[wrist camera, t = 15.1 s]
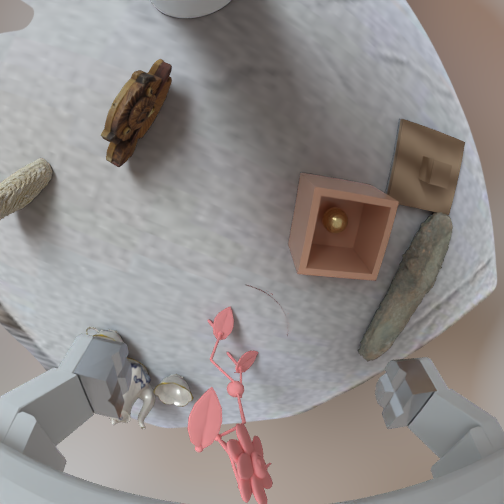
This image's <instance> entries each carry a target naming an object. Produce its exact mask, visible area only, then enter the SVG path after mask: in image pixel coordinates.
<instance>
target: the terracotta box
mask: <svg viewBox="0 0 504 504" xmlns="http://www.w3.org/2000/svg"><path fill="white" fill-rule="evenodd" d="M398 203H399V202H398V201H397V200H395V199H394V198H392V197H390V196H389V195H387V194H385V193H384V192H382V191H381V190H379V189H377V188H376V187H374V186H372V185H369V184H364V183H359V182H354V181H348V180H343V179H337V178H332V177H326V176H320V175H314V174H307V173H301V172H300V178H299V185H298V191H297V196H296V202H295V208H294V214H293V220H292V225H291V231H290V236H289V242H288V246H289V249H290V252H291V255H292V258H293V261H294V264H295V267H296V271H297V274H304V275H315V276H326V277H338V278H350V279H362V280H375V281H376V279H377V276H378V273H379V270H380V267H381V264H382V260H383V257H384V254H385V251H386V247H387V244H388V240H389V237H390V233H391V230H392V226H393V223H394V219H395V215H396V211H397V207H398ZM333 207H337V208H340V209H342V210H343V211H345V213H346V214H347V217H348V225H347V227H346V228H345V230H344V231H342V232H340V233H337V234H334V233H330V232H328V231H327V230H326V229H325V228H324V226H323V222H322V218H323V215H324V213H325V212H326V211H327V210H328V209H330V208H333Z"/></svg>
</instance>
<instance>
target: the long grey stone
mask: <svg viewBox="0 0 504 504" xmlns="http://www.w3.org/2000/svg"><path fill="white" fill-rule="evenodd" d="M452 228H453V227H452V221H451V219H450V217H449V216H447V215H446V214H443V213H442V212H439V213H437V212H436V213H434V214H433V215H432V216H429V217H428V218H427V220H426V221H425V223H424V222H422V224H421V228H420V230H419V231H418V232H417V234H416V236H415V237H414V239H413V241H412V243H411V245H410V247H409V249H408V250H407V251H406V254H403V255H402V256H403V259H402V262H401V263H400V268H399V270H398V272H397V273H396V276H395V278H394V279H393V281H392V283H391V286H390V289H389V291H388V294H387V295H386V296H385V298H384V299H383V301H382V303H381V304H380V308H379V309H378V310H377V311H376V314H375V316H374V318H373V320H372V322H371V324H370V326H369V328H368V329H367V331H366V333H365V334H364V337H363V340H362V341H361V347H360V349H359V350H358V352H359V354H360V355H362V356H363V358H364V359H365V360H367V361H370V360H374V359H376V358H378V357H379V356H381V355H382V354H383V353H385V352H386V351H387V350H388V349H389V348H390V347H391V346H392V344H393V342H394V341H395V339H396V338H397V337H398V335H399V334H400V333H401V332H402V330H403V329H404V327H405V326H406V324H407V323H408V321H409V319H410V317H411V316H412V314H413V313H414V312H415V310H416V308H417V307H418V305H419V304H420V303H421V301H422V299H423V297H424V296H425V294H427V293H428V292H429V290H430V289H431V288H432V287H433V286H434V283H435V281H436V277H437V275H438V272H439V269H440V268H442V267H441V266H442V263H443V261H444V257H445V255H446V252H447V250H448V245H449V241H450V239H451V234H452Z"/></svg>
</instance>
